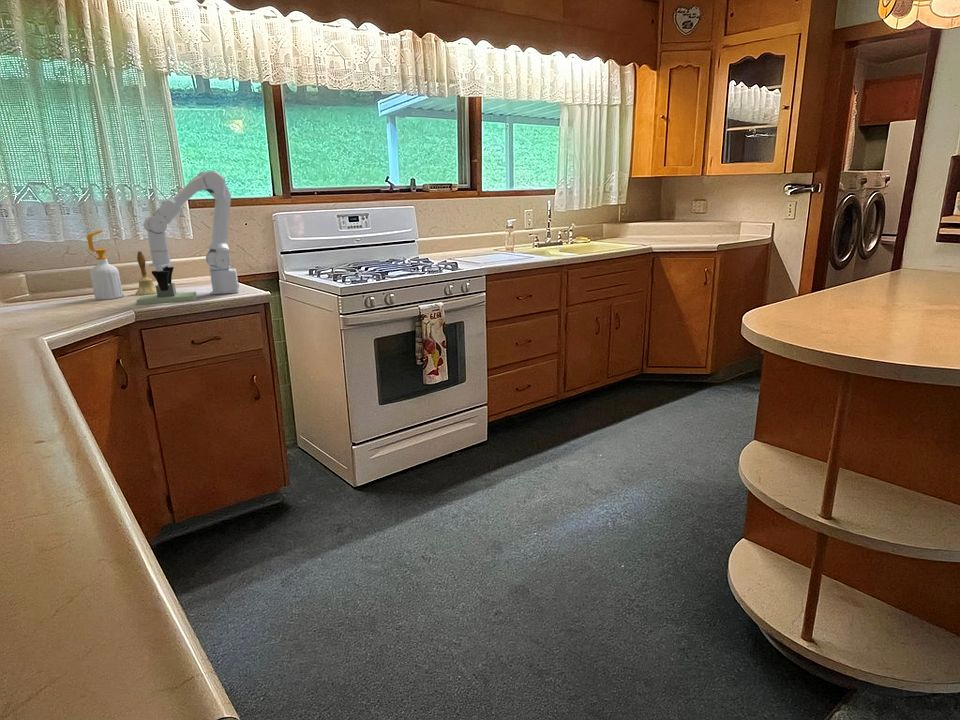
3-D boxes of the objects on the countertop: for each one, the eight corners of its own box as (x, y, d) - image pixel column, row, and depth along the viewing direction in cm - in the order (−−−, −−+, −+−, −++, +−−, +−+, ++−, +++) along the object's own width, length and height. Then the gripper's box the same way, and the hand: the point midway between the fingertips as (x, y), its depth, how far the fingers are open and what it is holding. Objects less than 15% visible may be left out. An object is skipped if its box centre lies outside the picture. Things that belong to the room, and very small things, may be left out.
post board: (196, 295, 227) (194, 280, 226) (193, 300, 218) (191, 284, 216) (143, 299, 222) (140, 284, 220) (137, 304, 213) (134, 288, 211)
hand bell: (149, 295, 231) (141, 252, 226) (130, 295, 232) (122, 252, 228) (164, 291, 238) (157, 250, 234) (146, 291, 240) (138, 250, 236)
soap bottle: (127, 297, 228) (114, 230, 221) (99, 301, 221) (85, 232, 214) (118, 294, 233) (106, 229, 227) (92, 298, 227) (78, 231, 220)
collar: (176, 293, 223) (174, 283, 222) (174, 296, 218) (172, 285, 217) (160, 295, 221) (158, 284, 220) (157, 297, 216) (155, 286, 215)
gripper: (150, 249, 221) (157, 286, 224) (142, 253, 207) (150, 293, 211) (172, 248, 223) (178, 285, 226) (165, 252, 209) (172, 291, 213)
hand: (166, 289), depth 219 cm, fingers open, 7 cm apart
